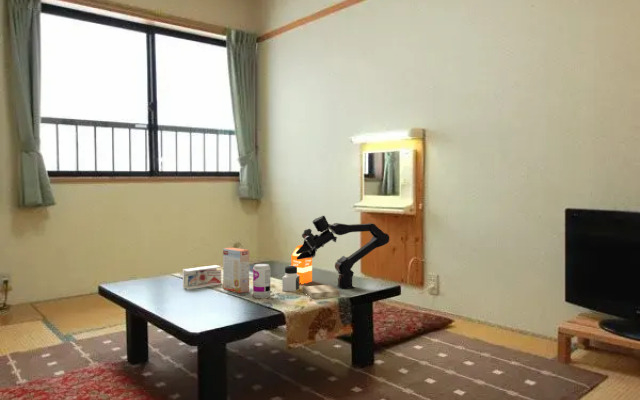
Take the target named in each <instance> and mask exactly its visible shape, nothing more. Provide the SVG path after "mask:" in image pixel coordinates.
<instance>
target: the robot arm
mask: <svg viewBox="0 0 640 400" xmlns="http://www.w3.org/2000/svg"><path fill="white" fill-rule="evenodd" d="M311 222H312V224H313V225H314V228H315V229H316V231H317V232H319V233H320V234H315V235H314V234H313V232H312V229H311V228H308V229H307V228H306V229H305V230H303V232H302V234H301V238H303V244H301V245H302V246H301V247H300V248H299V249H298V251H297V252H296V254H300V255H299V256H298V257H297V258H296V259H297V260H299V259H305V258H312V259H314V258H315V257H316V252H318V250H319V249H320V248H323V247H324V246H325V245H326V244H328V243H329V242H331V241H332V242H334V243H337V238H338V236H343V235H347V234H348V233H359V232H370V234H371V236H372V237H371V239H370V241H368V242H367V243H365V244H364V245H363V246H362V247H360V248H358V250H356V251H355V252H353V253H352V254H350V255H349V256H345V255H343V256H341V257H340V258H339V259H337V260H336V262H335V264H334V268H335V270H336V271H337V273H338V278H337V287H339V288H340V289H354V285H353V276H354V274H355V273H354V272H353V270H352V268H354V267H353V266H354V265H355V263H357V262H358V261H360V260H361V259H362V258H364V257H365V256H366V255H368V254H370V253H371V252H372V251H374V250H375V249H378V248H381V247H383V246H385V245H387V244H389V243H390V235H389V234H388V233H386V232H384V231H383V230H382V229H380V227H378V226H377V225H376V224H375V223H372V222H369V223H354V224H345V223H340V222H335V223H332V224H331V223H330V224H329V222H328V220H327V218H326V216H325V215H321V216H319V217H317V218H314V219H313V220H312V221H311ZM335 235H337V236H335Z"/></svg>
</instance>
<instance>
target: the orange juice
mask: <svg viewBox="0 0 640 400" xmlns="http://www.w3.org/2000/svg"><path fill="white" fill-rule="evenodd" d="M302 245H303V244H300V245H297V246H296V247H295V249H294V251H293V252H292V254H291V264H290V266H296V267H297V275H300V283H301V284H300V285H304V283H305V284H308V283H311V282H313V258H305V259H299V260H297V259H296V258H297V257H298V256H299V255H300V254H296V252H297V251H298V249H299V248H300V247H301V246H302Z"/></svg>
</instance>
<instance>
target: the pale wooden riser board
mask: <svg viewBox="0 0 640 400" xmlns="http://www.w3.org/2000/svg"><path fill="white" fill-rule="evenodd" d="M301 291H302V293H303V292H304V294H305V295H306V294H307V295H306V296H307V297H309V296H310V297H309V298H310V299H321V297H323V298H332V297H333V296H334V297H340V295H341V293H340V290H339V289H338V288H336V287H334V286H332V285H331V284H321V285H320V284H319V285H309V286H302V290H301Z"/></svg>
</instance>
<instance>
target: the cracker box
mask: <svg viewBox="0 0 640 400" xmlns="http://www.w3.org/2000/svg"><path fill="white" fill-rule="evenodd" d="M222 250H223V251H222V256H223V257H222V258H223V262H222V263H223V265H222V266H223V267H222V271H223V274H222V275H223V282H222V283H223V285H222V286H223V288H222V289H223V290H226V291H230V292H234V293H237V294H244V293H249V292H250V250H249V249H243V248H239V247H238V248H237V247H231V246H230V247H224V248H223V249H222Z"/></svg>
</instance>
